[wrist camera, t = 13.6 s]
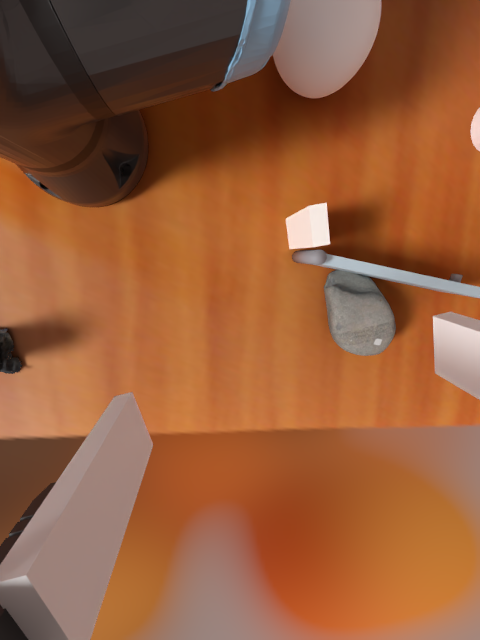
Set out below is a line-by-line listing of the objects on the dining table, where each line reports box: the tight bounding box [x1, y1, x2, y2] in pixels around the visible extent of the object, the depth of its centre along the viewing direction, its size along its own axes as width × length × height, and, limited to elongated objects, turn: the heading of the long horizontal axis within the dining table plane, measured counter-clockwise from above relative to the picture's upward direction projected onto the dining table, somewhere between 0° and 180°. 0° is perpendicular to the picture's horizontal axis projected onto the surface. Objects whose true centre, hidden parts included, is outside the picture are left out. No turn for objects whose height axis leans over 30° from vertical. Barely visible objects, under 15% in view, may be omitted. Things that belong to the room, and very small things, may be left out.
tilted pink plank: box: [286, 203, 330, 249], centre depth 32 cm, size 4×2×10 cm, turn 10°
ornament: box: [273, 0, 381, 98], centre depth 27 cm, size 10×10×12 cm
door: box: [292, 250, 480, 298], centre depth 34 cm, size 23×3×8 cm, turn 79°
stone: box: [324, 270, 396, 356], centre depth 38 cm, size 9×9×10 cm
